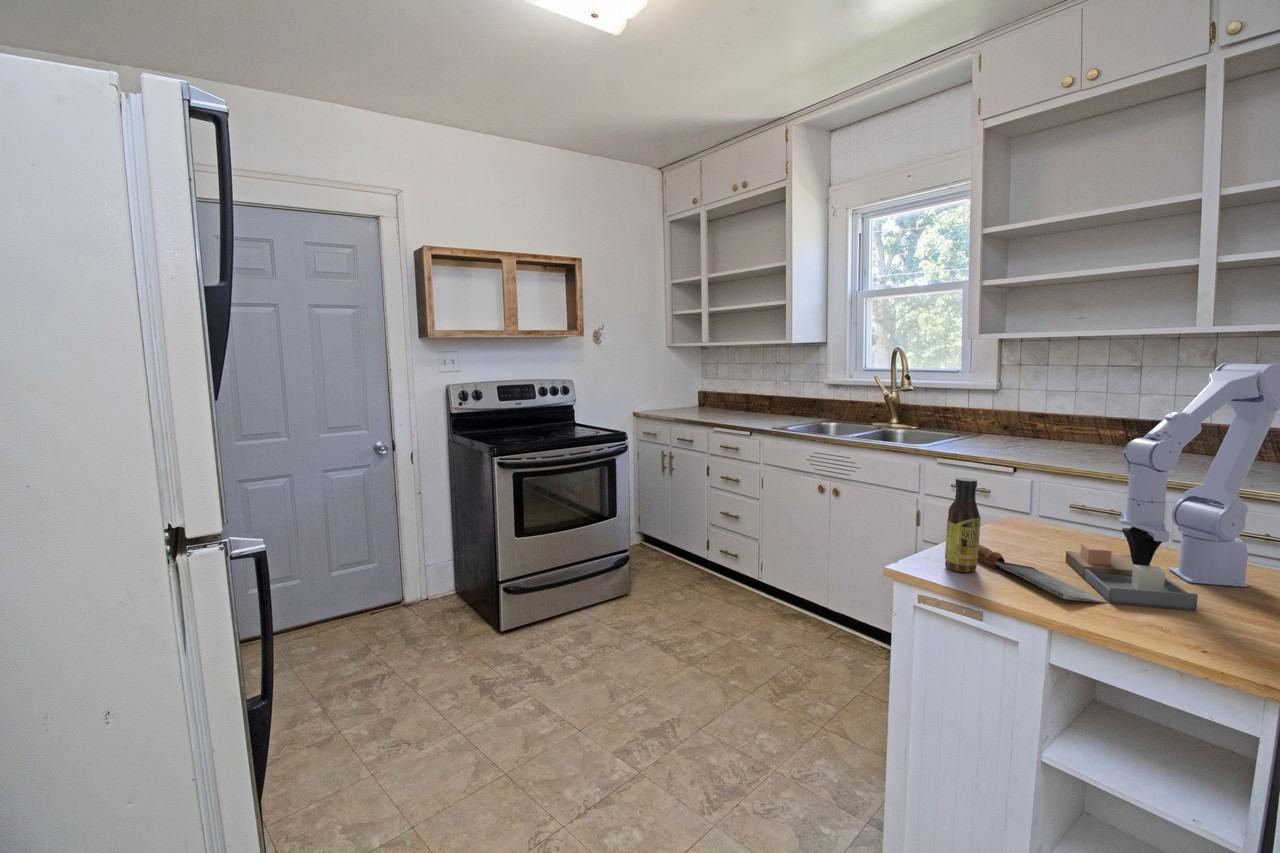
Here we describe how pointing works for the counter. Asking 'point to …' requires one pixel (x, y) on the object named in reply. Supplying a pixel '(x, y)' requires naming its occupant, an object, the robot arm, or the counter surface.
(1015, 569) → the meat cleaver
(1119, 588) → the charcoal tray
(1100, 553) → the peach matte cube
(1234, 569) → the robot arm
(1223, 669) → the counter surface
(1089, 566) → the walnut board
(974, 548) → the sauce bottle
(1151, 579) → the pale grey cube
